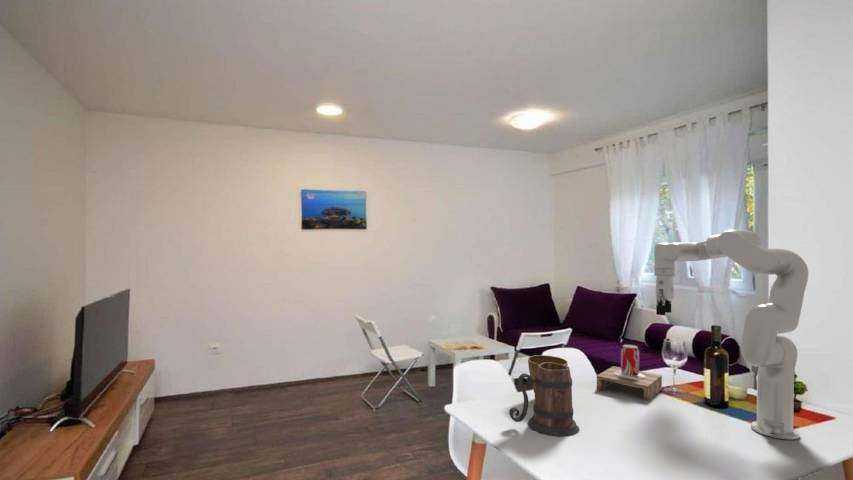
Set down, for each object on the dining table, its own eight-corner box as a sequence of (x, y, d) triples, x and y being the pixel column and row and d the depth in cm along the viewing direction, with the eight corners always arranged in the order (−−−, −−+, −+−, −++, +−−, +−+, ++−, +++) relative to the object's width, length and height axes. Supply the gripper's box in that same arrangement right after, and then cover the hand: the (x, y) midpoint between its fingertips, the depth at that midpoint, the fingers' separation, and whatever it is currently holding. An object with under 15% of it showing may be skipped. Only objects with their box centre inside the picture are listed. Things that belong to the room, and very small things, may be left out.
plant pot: (524, 404, 170) (524, 362, 170) (530, 392, 183) (531, 353, 183) (565, 411, 164) (566, 367, 164) (568, 398, 178) (569, 357, 178)
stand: (648, 401, 175) (648, 385, 175) (596, 390, 188) (596, 374, 188) (661, 389, 190) (661, 374, 190) (613, 379, 203) (613, 365, 203)
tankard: (564, 415, 160) (565, 358, 160) (589, 435, 143) (590, 372, 144) (501, 418, 156) (502, 360, 156) (519, 439, 139) (520, 375, 140)
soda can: (631, 378, 184) (631, 348, 184) (617, 373, 191) (617, 345, 191) (642, 375, 188) (643, 346, 188) (628, 371, 194) (628, 343, 194)
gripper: (669, 274, 179) (668, 317, 179) (679, 272, 192) (678, 312, 192) (648, 272, 184) (648, 314, 184) (659, 271, 197) (659, 310, 197)
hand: (663, 313), depth 188 cm, fingers open, 9 cm apart
